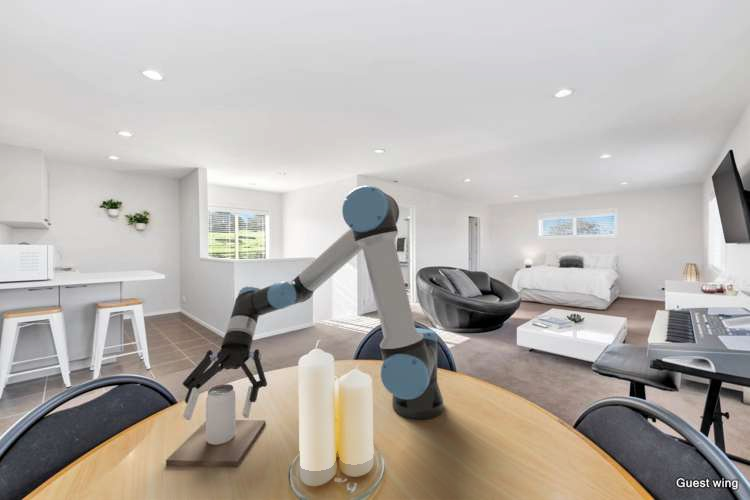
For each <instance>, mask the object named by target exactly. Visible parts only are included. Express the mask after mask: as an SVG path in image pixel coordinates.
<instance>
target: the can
mask: <svg viewBox="0 0 750 500" xmlns="http://www.w3.org/2000/svg"><path fill="white" fill-rule="evenodd" d="M236 413H237V412H236V391H235V390H234V386H233V384H227V383H225V384H219V385H215V386H213V387H211V388H209V389H207V395H206V397H205V421H206V439H207V442H208V443H209V444H211V445H221V444H224V443H227V442H229V441H230V440H231V439H232V438H233V437H234V436H235V434H236V420H237V418H236Z"/></svg>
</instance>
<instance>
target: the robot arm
mask: <svg viewBox="0 0 750 500" xmlns="http://www.w3.org/2000/svg"><path fill="white" fill-rule="evenodd" d="M341 211H342V212H341V213H342V218H343V220H344V222H345V223H346V225H347V226H348V227H349V228H348V230H346V231H345V232H344V233H343V234H342V235H340V236H339V237H338V238H337V240H335V241H334V242H333V243H332V244H330V246H329V247H327V248H326V249H325V250H324V251H323V252H322V253H321V254H320V255H318V257H316V258H315V259H314V261H312V262H311V263H310V264H309V265H307V267H305V268H304V270H302V271H301V272H300V273H299V274H298V275H297V276H296V277H295V278H294V279H292V280H291V281H286V280H284V281H283V280H282V281H279V282H275V283H273V284H271V285H269V286H268V285H267V286H266V287H264V288H259V287H257V286H253V285H252V286H243V287H242V288H241V289H240V290H239V292H238V294H237V297H236V299H235V302H234V305H233V309H232V312H231V315H230V318H229V322H228V324H227V327H226V330H225V334H224V337H223V340H222V342H221V346H220V350H219V351H218V352H215V351H214V352H213V351H212V350H207V351H206V354H205V356H204V358H203V359H202V360H201V361H200V362H199V363H198V365H197V366H196V367H195V368H194V369H193V371H192V372H191V373H190V374H189V375H188V376H187V377H186V378H185V380H183V382H182V385H183V386H184V387H185V388H186V389H187V390H188V391H187V393H186V396H185V399H184V402H185V404H186V406H185V409H184V412H183V415H182V418H184V419H185V420H187V421H188V420H189V421H191V419H192V416H193V413H194V410H195V408H196V404H197V403H198V399H199V396H200V393H201V391H200V390H199V389H200V388H201V387H203V386H204V385H205V384H206V383H207V382H208V381H209V380H211V379H212V378H213V377H214V376H216V375H217V374H218V373H219V372H221V371H223V370H238V369H239V368H241V369H242V371H243V372H244V373H245V376H246V377H247V378H248V380H249V382H250V383H251V385H250V386H248V389H247V394H246V398H245V402H244V406H243V411H242V414H241V415H242V416H243V417H244V418H245V419H249V417H250V412H251V410H252V409H251V408H252V403H256V402H257V399H258V398H257V397H258V393H259V389H261V388H262V387H267V386H268V382H267V378H266V375H265V372H264V369H263V365H262V361H261V359H262V358H261V357H262V355H261V352H260V350H259V349H258V348H256V349H254V351H251V348H252V345H253V344H252V343H253V341H254V339H253V338H254V335H255V332H256V328H257V323H258V319H259V318H260V316H263V315H266V314H269V313H273V312H275V311H279V310H282V309H283V310H284V309H285V308H288V307H290V306H294V305H297V304H300V303H304V302H306V301H307V300H310V299H311V298H312V296H313V295H314V292H315V291H316V290H318V288H320V287H321V286H322V285H323V284H324V283H326V282H327V281H328V280H329V278H331V277H332V276H333V275H334V274H336V273H337V272H338V271H339V270H341V269H342V268H343V267H344V266H345V265H346V264H347V263H349V262H350V261H351V260H352V259H353V258H354V257H355V256H357V255H358V254H359V253H360V252H361V251H362V252H363V255H364V259H365V260H364V261H365V264H366V268H367V272H368V278H369V281H370V285H371V289H372V293H373V297H374V302H375V305H376V310H377V314H378V318H379V322H380V323H379V324H380V328H381V332H382V335H383V338H382V340H381V341H380V343H379V348H380V351H381V352H380V353H381V355H382V356H381V357H382V361H383V362H382V365H381V367H380V368H381V370H380V378H381V382H382V384H383V386H384V388H385V390H387V392H389V394H392V404H391V405H392V409H393V410H394V411H395V412H396V413H397V414H399V415H401V416H403V417H405V418H409V419H413V420H430V419H432V418H435V417H437V416H439V415H441V413H442V412H443V410H444V399H443V395H442V393H441V389H440V386H439V383H438V342H439V341H438V334H437V333H436V331H434V330H432V329H427V328H421V327H416V325H415V320H414V316H413V312H412V309H411V305H410V299H409V295H408V293H407V291H408V290H407V287H406V284H405V280H404V275H403V271H402V267H401V263H400V259H399V255H398V251H397V247H396V243H395V239H396V238H397V236H398V234H399V230H398V227H397V224H398V221H399V218H400V208H399V205H398V203H397V201H396V199H394V197H392V196H391V195H389V194H388V193H385V192H384V191H382V189H380V188H378V187H376V186H370V185H363V186H359V187H356V188H354V189H352V190H351V191H350V192H349V193H348V194H347V196H346V197H345V199H344V201H343V204H342V209H341ZM216 359H217V360H216ZM250 359H252V361H253V362H254V364H255V368H256V372H257V375H258V378H259V380H257V379H256V378H255V376H254V375H253V373H252V371H251V370H250V368H249V367H248V366H247V364H246V362H247V361H248V360H250ZM212 362H213V363H212ZM211 364H212V365H211ZM210 365H211V366H210ZM209 366H210V367H209Z"/></svg>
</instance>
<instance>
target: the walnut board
mask: <svg viewBox="0 0 750 500" xmlns="http://www.w3.org/2000/svg"><path fill="white" fill-rule="evenodd" d="M265 426H266V420H262V419H261V420H260V419H259V420H257V419H256V420H255V419H247V420H246V419H236V434H235V436H234V437H233V438H232V439H231V440H230V441H229V442H227V443H224V444H221V445H211V444H209V443H208V442H207V439H206V420H205V421H204V422H203V423H202V424H201V425H200V426H199V427H198V428H197V429H196V430H195V431H193V433H192V434H191V435H190V436H189V437H188V438H187V439H186V440H185V441H184V442H183V443H182V444H180V446H178V448H177V449H176V450H175V451H174V452H173V453H172V454H171V455H169V456H168V458H166V460H165V465H166V466H171V467H173V466H175V467H177V466H179V467H181V466H182V467H219V468H220V467H227V468H232V467H233V468H238V467H239V466H240V464H241V463H242V461H243V460H244V459H245V456H246V455H247V453H248V452H249V450H250V449H251V447H252V446H253V444H254V443H255V441H257V438H258V437H259V435H260V434H261V432H262V431H263V429H264V428H265Z"/></svg>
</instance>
